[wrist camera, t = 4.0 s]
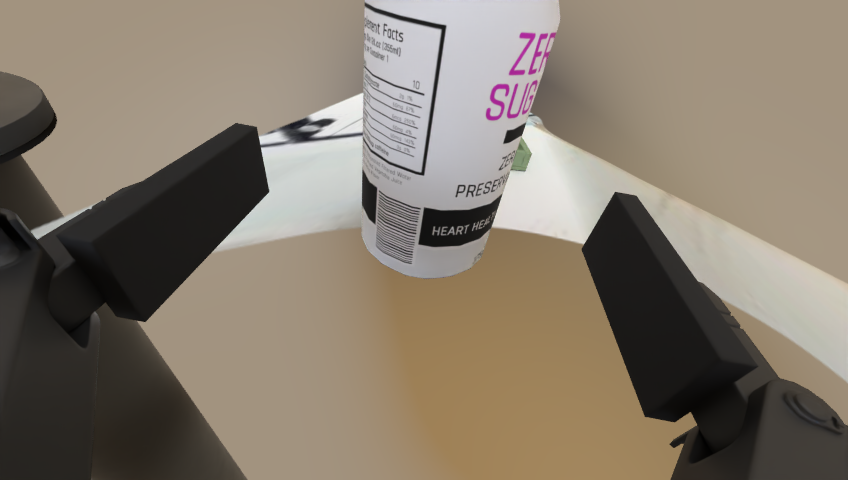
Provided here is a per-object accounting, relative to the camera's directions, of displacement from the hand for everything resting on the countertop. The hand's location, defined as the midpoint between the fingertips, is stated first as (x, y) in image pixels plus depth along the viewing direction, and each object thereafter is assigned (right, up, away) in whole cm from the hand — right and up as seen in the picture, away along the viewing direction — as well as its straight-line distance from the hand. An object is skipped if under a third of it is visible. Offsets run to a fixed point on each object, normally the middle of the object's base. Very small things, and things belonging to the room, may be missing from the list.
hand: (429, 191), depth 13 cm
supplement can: (0, -2, +10) cm, 10 cm away
